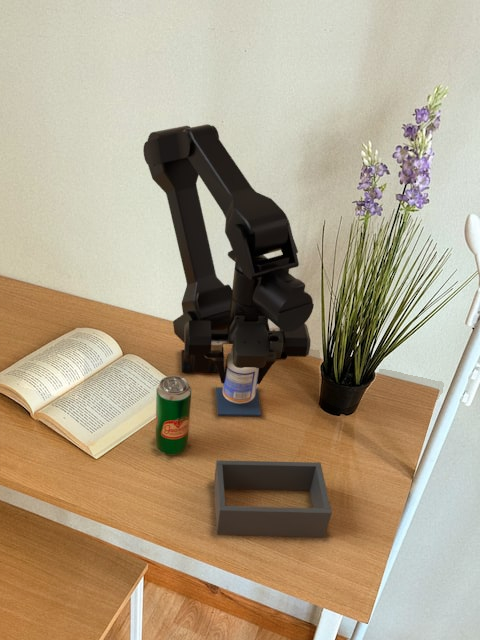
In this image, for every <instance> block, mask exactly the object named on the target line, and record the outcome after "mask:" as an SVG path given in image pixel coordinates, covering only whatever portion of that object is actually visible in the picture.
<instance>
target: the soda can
mask: <svg viewBox="0 0 480 640" xmlns="http://www.w3.org/2000/svg"><path fill="white" fill-rule="evenodd" d="M155 394H156V395H155V437H154V439H155V447H156V449H157V450H158V451H159V452H161V453H162V454H164V455H167V456H177V455H180V454H182V453H183V452H185V451H186V450H187V448H188V446H189V435H190V434H189V433H190V420H191V403H192V388H191V386H190V383H189V381H188V380H187V378H185V377H183V376H179V375H168V376H165V377H163V378H162V379H161V380H160V381H159V382H158V385H157V387H156V393H155Z"/></svg>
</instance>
